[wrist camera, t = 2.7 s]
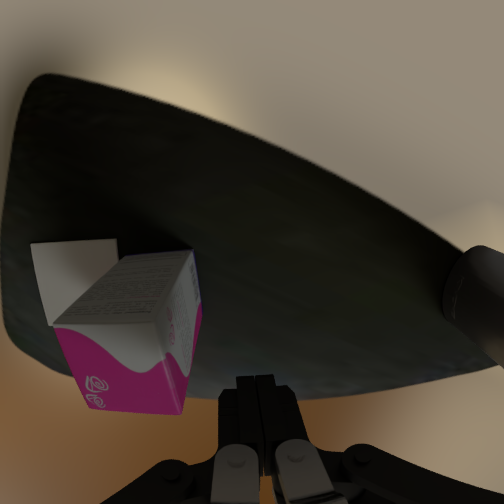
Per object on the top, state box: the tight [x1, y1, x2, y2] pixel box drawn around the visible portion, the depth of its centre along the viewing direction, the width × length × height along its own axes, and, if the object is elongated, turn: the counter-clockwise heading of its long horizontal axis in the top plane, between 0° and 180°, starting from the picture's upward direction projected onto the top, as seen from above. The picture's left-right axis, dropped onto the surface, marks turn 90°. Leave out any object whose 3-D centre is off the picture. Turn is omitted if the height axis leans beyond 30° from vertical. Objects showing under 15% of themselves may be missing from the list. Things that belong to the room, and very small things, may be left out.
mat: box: [30, 239, 119, 326], centre depth 22 cm, size 9×8×1 cm
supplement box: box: [53, 249, 203, 415], centre depth 18 cm, size 6×6×12 cm
